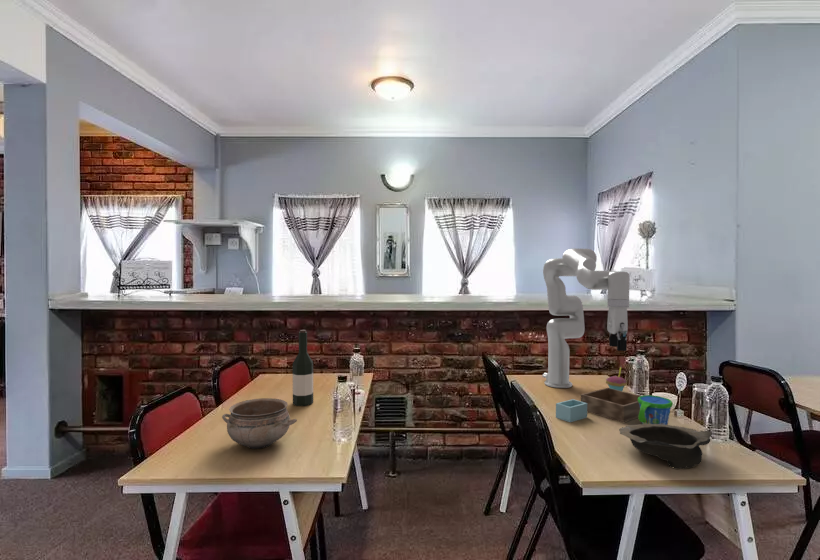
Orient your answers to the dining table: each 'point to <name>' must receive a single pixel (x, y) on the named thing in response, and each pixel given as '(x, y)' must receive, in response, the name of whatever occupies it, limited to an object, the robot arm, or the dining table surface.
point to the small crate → (571, 410)
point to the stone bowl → (668, 442)
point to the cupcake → (616, 382)
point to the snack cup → (654, 409)
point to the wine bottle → (302, 374)
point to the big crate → (612, 404)
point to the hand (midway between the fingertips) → (617, 348)
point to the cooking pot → (258, 422)
